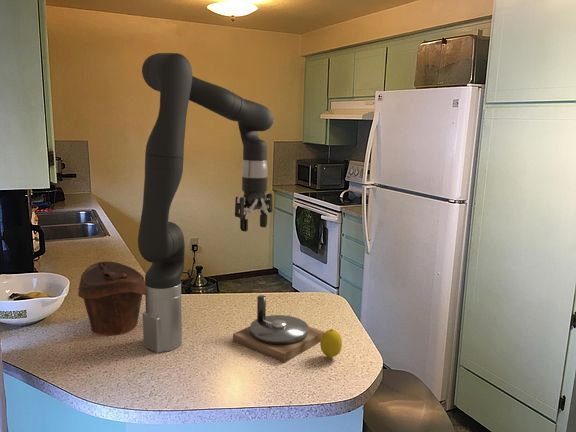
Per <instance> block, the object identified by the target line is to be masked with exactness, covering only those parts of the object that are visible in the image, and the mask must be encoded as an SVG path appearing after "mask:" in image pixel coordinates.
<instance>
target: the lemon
mask: <svg viewBox="0 0 576 432" xmlns="http://www.w3.org/2000/svg"><path fill="white" fill-rule="evenodd" d="M319 343H320V349H321V352H322V354H323V355H325V356H326V357H328V358H329V359H332V358H334V357H336V356H338V355H339V354H340V352H341V350H342V347H343V339H342V336H341V334H340V332H339V331H337V330H336V329H334V328H330V329H327V330H326V331H324V333H323V335H322V338H321V342H319Z"/></svg>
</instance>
